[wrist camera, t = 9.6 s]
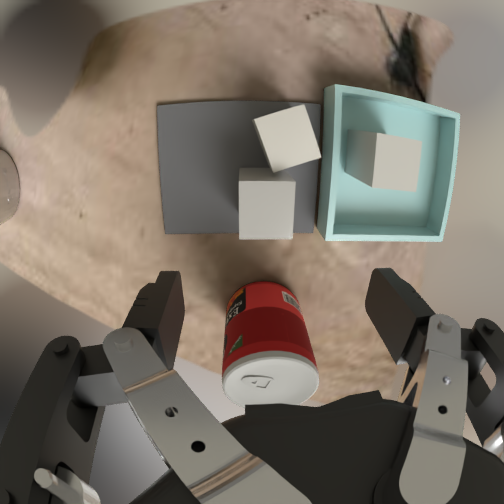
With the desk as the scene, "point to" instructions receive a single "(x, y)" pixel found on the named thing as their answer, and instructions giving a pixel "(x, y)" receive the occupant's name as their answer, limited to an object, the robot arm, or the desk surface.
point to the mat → (221, 164)
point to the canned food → (267, 348)
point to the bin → (376, 199)
